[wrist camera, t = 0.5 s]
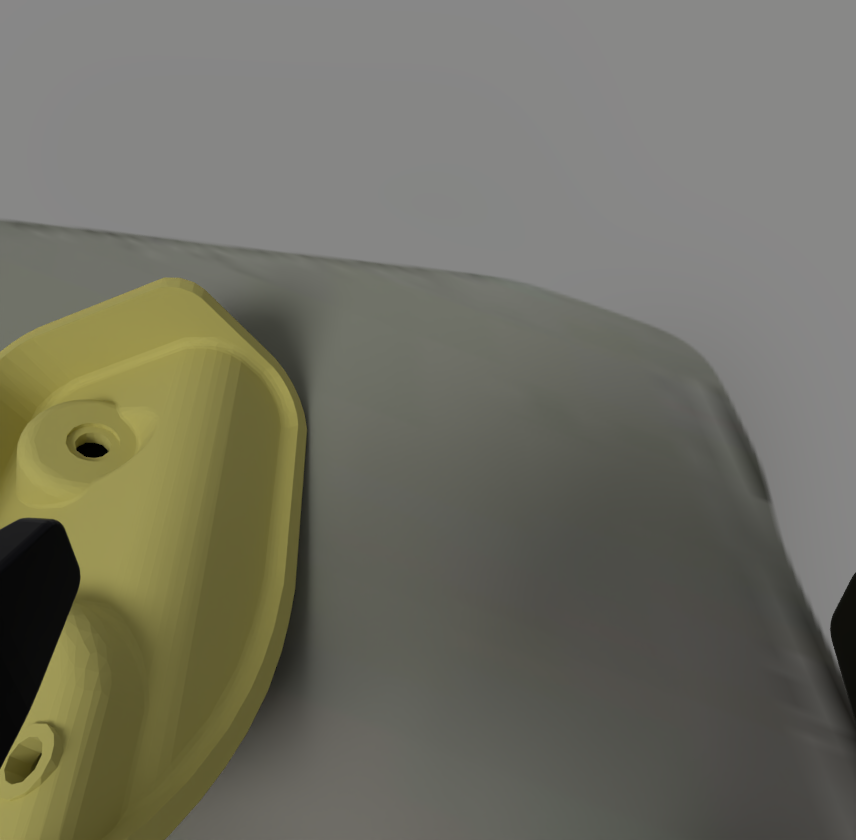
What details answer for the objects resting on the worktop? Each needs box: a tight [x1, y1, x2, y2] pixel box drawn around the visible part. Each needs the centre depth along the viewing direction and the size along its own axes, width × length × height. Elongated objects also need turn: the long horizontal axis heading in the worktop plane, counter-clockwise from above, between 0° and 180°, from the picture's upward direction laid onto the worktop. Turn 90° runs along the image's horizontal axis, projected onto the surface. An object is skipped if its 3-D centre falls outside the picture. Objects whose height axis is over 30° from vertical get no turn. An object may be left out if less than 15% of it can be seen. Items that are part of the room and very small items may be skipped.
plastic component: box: [0, 278, 307, 840], centre depth 21 cm, size 20×7×10 cm
